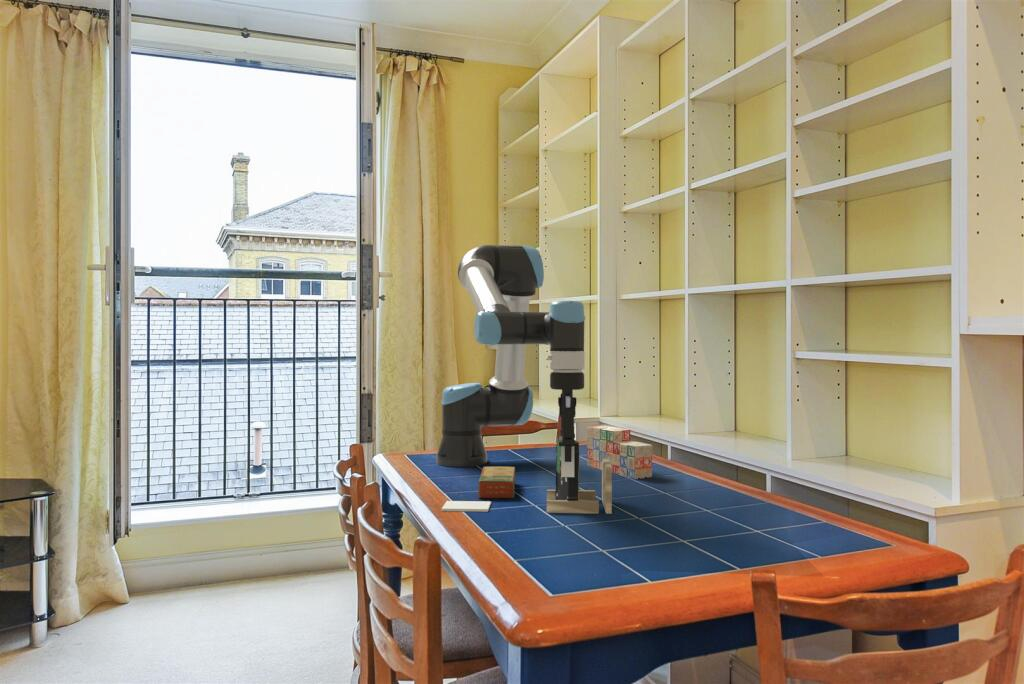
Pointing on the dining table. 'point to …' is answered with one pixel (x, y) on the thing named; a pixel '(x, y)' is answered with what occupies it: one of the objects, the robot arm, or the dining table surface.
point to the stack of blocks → (618, 452)
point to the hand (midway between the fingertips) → (567, 471)
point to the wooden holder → (585, 496)
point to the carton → (497, 482)
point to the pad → (467, 506)
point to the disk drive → (567, 485)
